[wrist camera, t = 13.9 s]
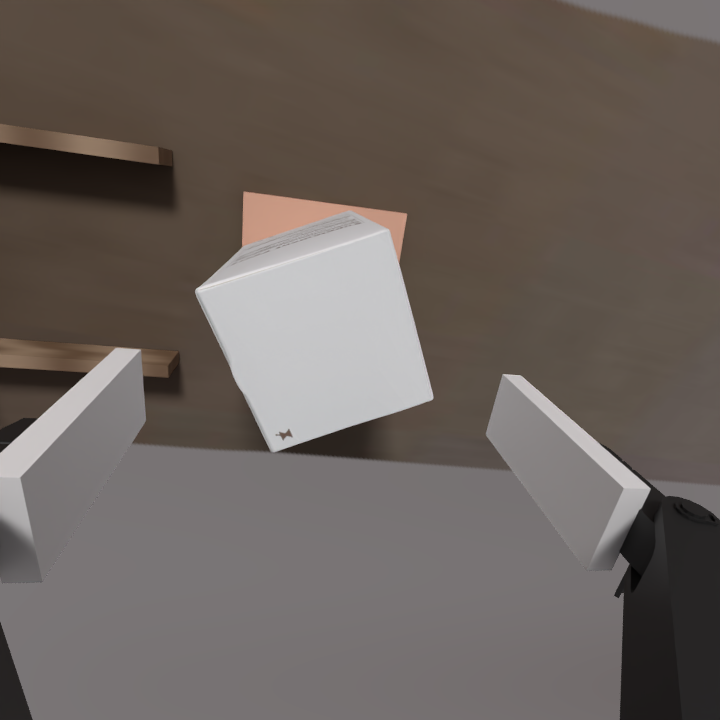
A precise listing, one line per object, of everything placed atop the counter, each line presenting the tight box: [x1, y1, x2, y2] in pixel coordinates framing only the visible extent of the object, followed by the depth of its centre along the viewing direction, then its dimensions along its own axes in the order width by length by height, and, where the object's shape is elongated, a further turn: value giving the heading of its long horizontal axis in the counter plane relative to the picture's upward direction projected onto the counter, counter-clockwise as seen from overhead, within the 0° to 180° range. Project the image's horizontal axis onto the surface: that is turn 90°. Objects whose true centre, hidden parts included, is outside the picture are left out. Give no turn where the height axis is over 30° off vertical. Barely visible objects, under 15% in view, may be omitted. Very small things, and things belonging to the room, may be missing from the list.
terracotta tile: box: [242, 192, 407, 262], centre depth 33 cm, size 12×12×1 cm
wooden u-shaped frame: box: [0, 124, 179, 378], centre depth 27 cm, size 16×16×7 cm
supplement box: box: [195, 211, 433, 453], centre depth 26 cm, size 9×9×15 cm
